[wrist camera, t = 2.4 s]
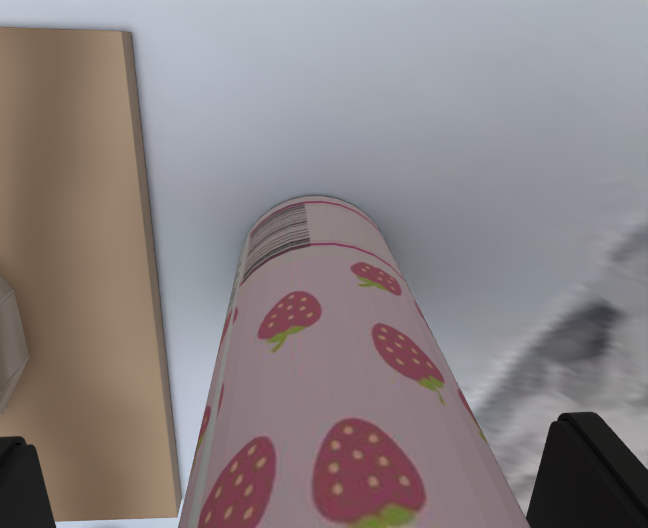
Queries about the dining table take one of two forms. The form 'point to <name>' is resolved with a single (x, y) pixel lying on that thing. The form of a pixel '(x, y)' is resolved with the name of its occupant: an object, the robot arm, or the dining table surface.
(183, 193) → the dining table surface
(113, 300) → the socket board
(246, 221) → the dining table surface
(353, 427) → the beverage can
